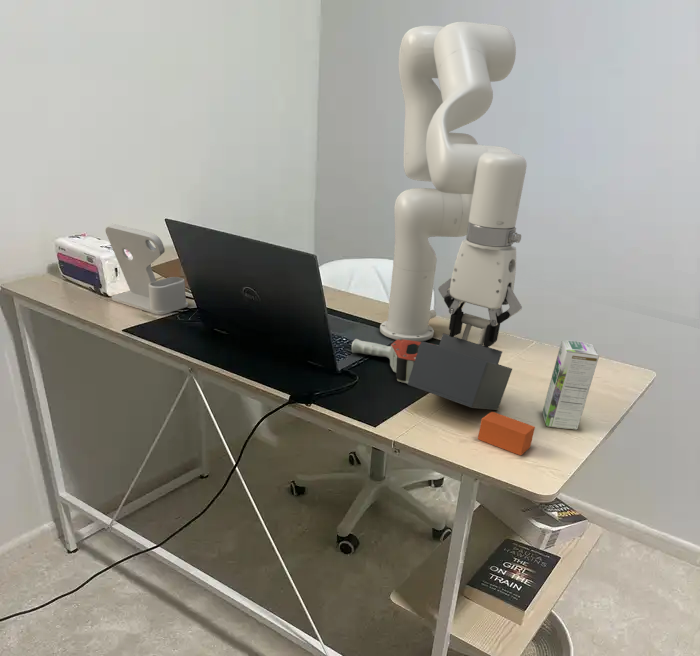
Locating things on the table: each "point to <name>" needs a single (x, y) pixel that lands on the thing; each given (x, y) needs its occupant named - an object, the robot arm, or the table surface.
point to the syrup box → (570, 384)
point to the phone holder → (144, 272)
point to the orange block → (506, 433)
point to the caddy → (462, 369)
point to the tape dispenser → (391, 355)
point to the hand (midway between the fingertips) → (471, 339)
